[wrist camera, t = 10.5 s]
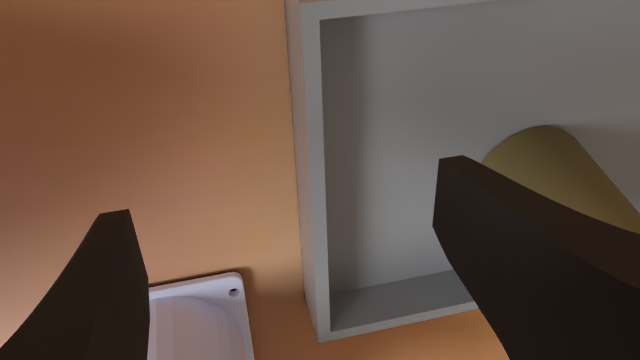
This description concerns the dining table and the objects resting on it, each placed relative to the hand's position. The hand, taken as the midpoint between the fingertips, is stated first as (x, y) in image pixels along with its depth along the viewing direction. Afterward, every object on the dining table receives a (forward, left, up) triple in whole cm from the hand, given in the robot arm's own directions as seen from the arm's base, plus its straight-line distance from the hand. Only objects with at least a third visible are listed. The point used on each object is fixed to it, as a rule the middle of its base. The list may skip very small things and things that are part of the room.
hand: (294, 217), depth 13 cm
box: (-5, -13, -10) cm, 17 cm away
